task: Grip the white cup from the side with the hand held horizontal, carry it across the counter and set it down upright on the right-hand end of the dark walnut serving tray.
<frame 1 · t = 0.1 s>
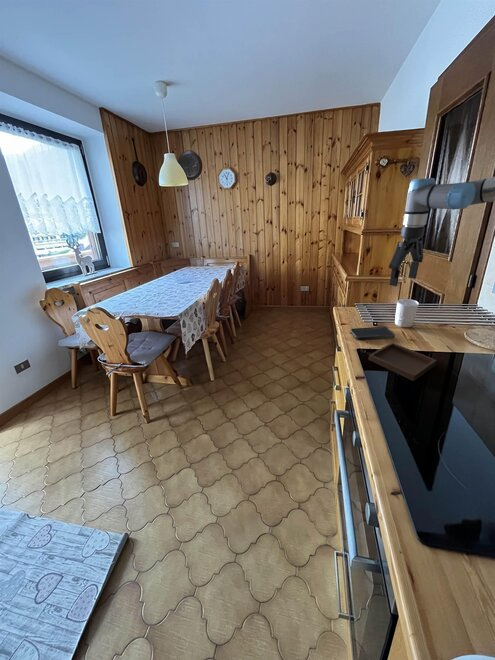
hand: (402, 281, 113), 19 cm above the counter, tool pointing down, fingers open, 13 cm apart
tray: (401, 362, 96), on the counter
white cup: (403, 324, 121), on the counter
phone: (371, 334, 114), on the counter
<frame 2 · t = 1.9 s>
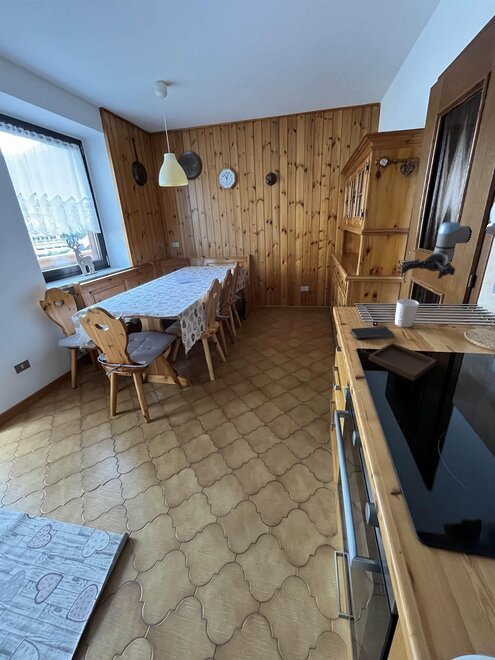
hand: (420, 272, 117), 20 cm above the counter, tool horizontal, fingers open, 13 cm apart
nothing on the counter moved.
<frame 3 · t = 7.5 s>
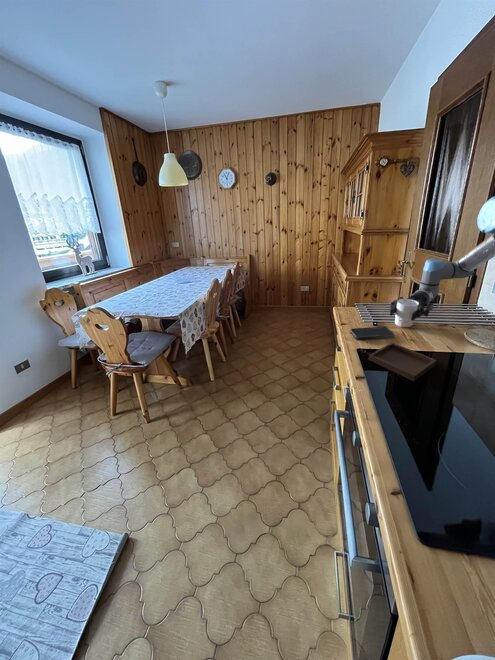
hand: (401, 314, 115), 6 cm above the counter, tool horizontal, fingers closed on white cup, 8 cm apart
white cup: (403, 324, 121), on the counter, touching gripper
everything else where it was.
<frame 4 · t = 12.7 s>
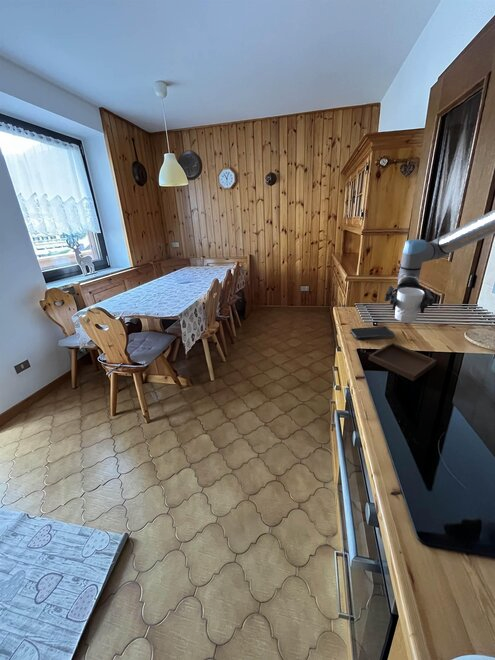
hand: (408, 307, 93), 18 cm above the counter, tool horizontal, fingers closed on white cup, 8 cm apart
white cup: (404, 318, 99), point 12 cm above the counter, touching gripper
everything else where it was.
when the fingers open (7 cm above the counter, at t = 17.9 s): white cup stays where it is, resting on tray.
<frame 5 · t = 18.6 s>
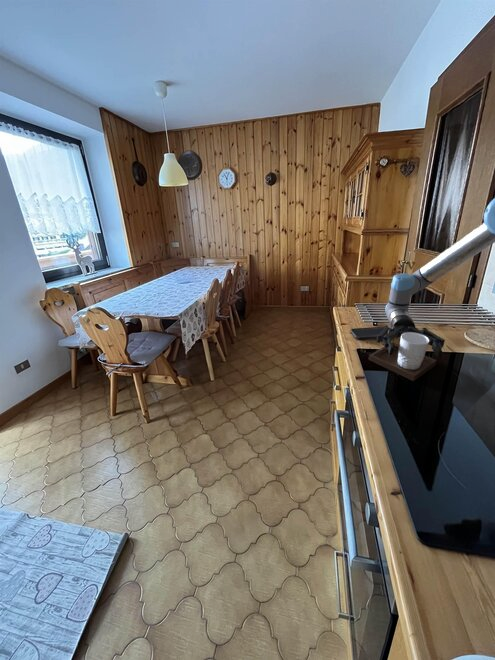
hand: (415, 353, 88), 7 cm above the counter, tool horizontal, fingers open, 13 cm apart
white cup: (408, 364, 94), resting on tray
everything else where it was.
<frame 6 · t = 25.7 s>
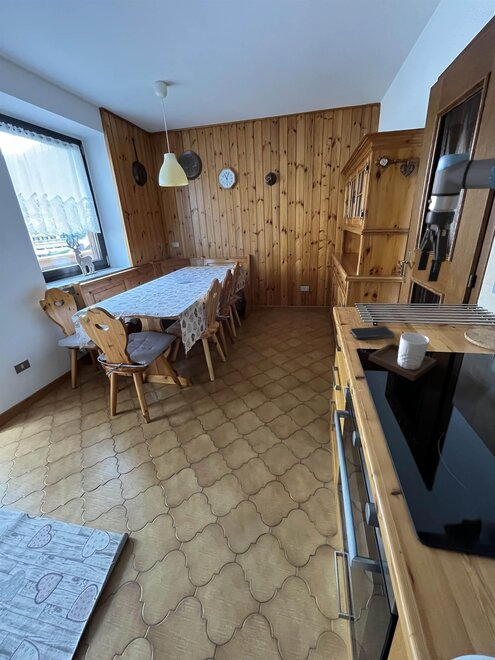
hand: (426, 275, 100), 25 cm above the counter, tool pointing down, fingers open, 13 cm apart
nothing on the counter moved.
at the end: white cup inside the target area in the tray (0.5 cm from its centre), point 0.4 cm above the tray's base; white cup tilted 0°; the gripper is holding nothing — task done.
